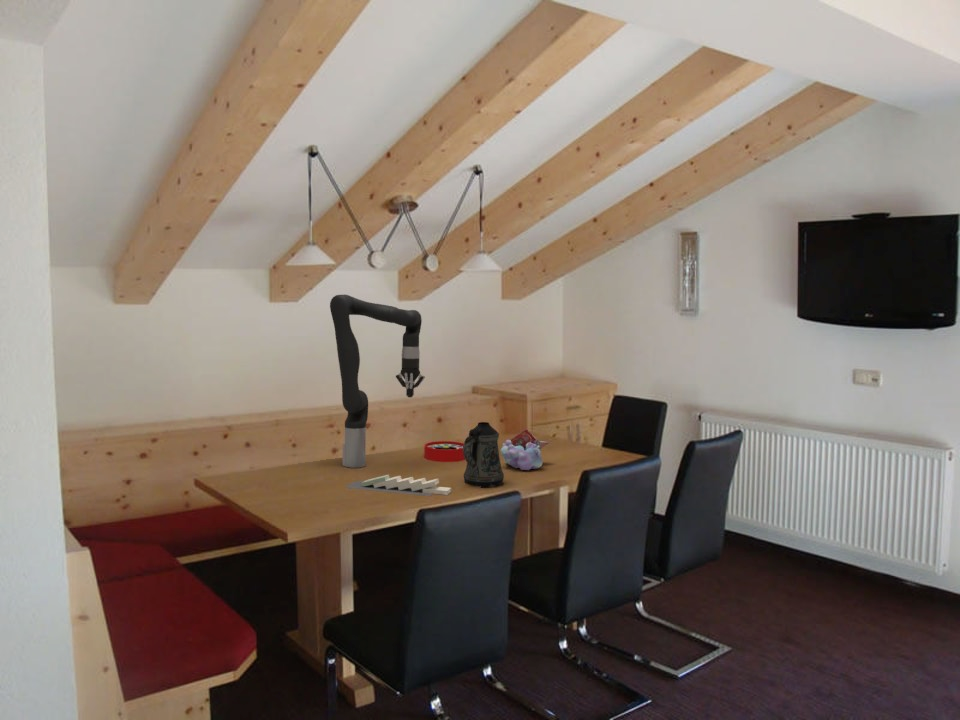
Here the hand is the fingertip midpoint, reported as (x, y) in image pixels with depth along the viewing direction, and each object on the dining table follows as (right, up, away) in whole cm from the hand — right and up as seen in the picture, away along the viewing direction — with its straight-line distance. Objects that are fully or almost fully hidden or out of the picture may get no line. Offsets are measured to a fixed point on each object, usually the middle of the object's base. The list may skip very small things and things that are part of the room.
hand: (409, 397), depth 349 cm
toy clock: (+14, -30, +32) cm, 46 cm away
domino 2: (-11, -33, -27) cm, 44 cm away
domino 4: (-1, -34, -30) cm, 45 cm away
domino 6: (+8, -34, -32) cm, 48 cm away
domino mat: (-5, -35, -29) cm, 45 cm away
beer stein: (+31, -35, -16) cm, 50 cm away
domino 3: (-6, -34, -28) cm, 44 cm away
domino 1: (-16, -33, -26) cm, 45 cm away
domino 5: (+4, -34, -31) cm, 46 cm away
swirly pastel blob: (+49, -32, +16) cm, 61 cm away
